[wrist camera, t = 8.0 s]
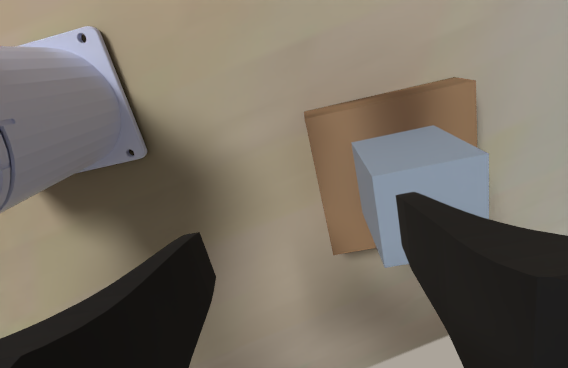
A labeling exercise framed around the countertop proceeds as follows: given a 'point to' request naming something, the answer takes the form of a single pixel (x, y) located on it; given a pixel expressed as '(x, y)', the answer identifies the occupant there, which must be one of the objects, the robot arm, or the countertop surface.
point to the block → (417, 180)
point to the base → (369, 124)
